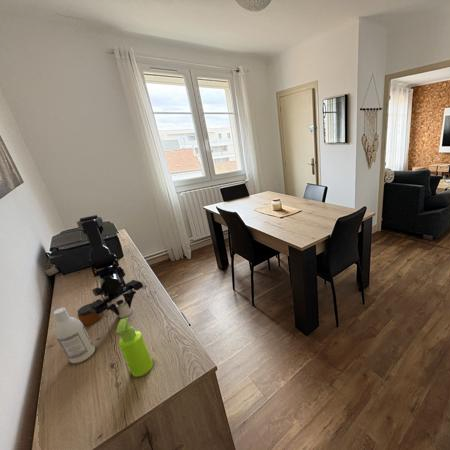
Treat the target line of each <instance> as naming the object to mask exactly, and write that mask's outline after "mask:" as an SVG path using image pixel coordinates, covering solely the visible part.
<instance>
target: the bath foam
mask: <svg viewBox="0 0 450 450" xmlns="http://www.w3.org/2000/svg"><path fill="white" fill-rule="evenodd" d="M52 314H53V315H54V318H55V320H56V321H57V323H56V325H55V328H54V336H55V338H56V340H57V342H58V343H59V346H60V347H61V348H62V351H63V353H64V355H66V357H67V359H68V361H69V362H70V363H71V364H79V363H82V362H84V361H87V359H89V358H90V357H92V355H93V354H94V353H95V352H96V351H95V350H96V347H95V345H94V343H93V341H92V339H91V337H90V335H89V334H88V331H87V329H86V327H85V325H83V324H82V322H81V321H80V319H79V318H75V317H72V316H70V315H69V312H68V311H67V309H66V308H65V307H59V308H58V309H55V310H54V311H53V312H52Z"/></svg>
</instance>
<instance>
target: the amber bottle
mask: <svg viewBox="0 0 450 450" xmlns="http://www.w3.org/2000/svg"><path fill="white" fill-rule="evenodd" d="M89 304H90V303H88V304H85V305H83V306H80V308H78V310H77V311H76V312H77V318H78V320H80V321H81V322H82V324H83V325H84V326H89V325H93V324H95V323H96V322H98V321H100V320H101V319H102V317H103V314H102V312H101V313H100V314H95V313H93V312H90V311H89V309H88V306H89Z"/></svg>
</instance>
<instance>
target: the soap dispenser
mask: <svg viewBox="0 0 450 450" xmlns="http://www.w3.org/2000/svg"><path fill="white" fill-rule="evenodd" d="M128 320H129V318H128V317H124V318H120V319H119V321H118V324H117V326H116V331H115V333H116V334H118V333H119V335H120V337H121V338H120V340H119V341H118V346H119V348H120V351H121V353H122V355H123V357H124V359H125V361H126V363H127V366H128V368H129V370H130V373H131V375H132V376H133V377H134V378H135V377H136V378H138V377H142V376H145V375H146V374H147V373H148V372H150V370H152V368H153V365H154V362H153V359H152V358H151V355H150V352H149V350H148V347H147V345H146V342H145V339H144V337H143V335H142V333H141V331H138V330H135V328H134V326H133V325H129V323H128Z"/></svg>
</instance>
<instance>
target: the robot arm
mask: <svg viewBox="0 0 450 450" xmlns="http://www.w3.org/2000/svg"><path fill="white" fill-rule="evenodd" d="M103 220H104V219H103V218H102V216H98V215H97V214H95V215H89V216H85V217H80V218H79V220H78V221H76V225H77V227H78V229H79V231H82V232H83V234H85V235H86V237H87V240H88V243H89V246H90V248H91V249H90V251H89V253H88V256H89V259H88V264H89V266H90V269H91V272H92V275H93V277H94V278H96V277H99V282H100V287H99V286H97V287H95V288H92V294H93V295H94V296H95V297H99V296H104V297H105V299H103V300H101V299H96V300H95V301H93V302H92V303H88V304H89V306H88V309H89V311H90V312H93V313H95V314H100V313H101V314H102V313H103V312H105V311H106V310H107V311H109V310H110V311H111V312H112V313H114V314H115V315H116V316H118V317H119V312H118V309H117V307H116V305H117V304H116V303H113V301H115V300H117V299H118V298H120V297H123V300H124V301H125V302H127V303H128V306H129V308H130V309H131V308H132V303H133V299H134V296H135V294H136V293H137V291H139V290H140V289H143V288H144V285H143V282H142V281H140V280H136V279H132V280H130V281H128V282H125V279H124V278H125V276H126V272H125V270H124V267H122V266H120V263H119V261H118V257H117V255H116V254H114V253H112V252H111V250H110V249H109V247H107V244H106V242H105V238H104V236H103V231H104V225H105V223H104V221H103Z"/></svg>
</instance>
